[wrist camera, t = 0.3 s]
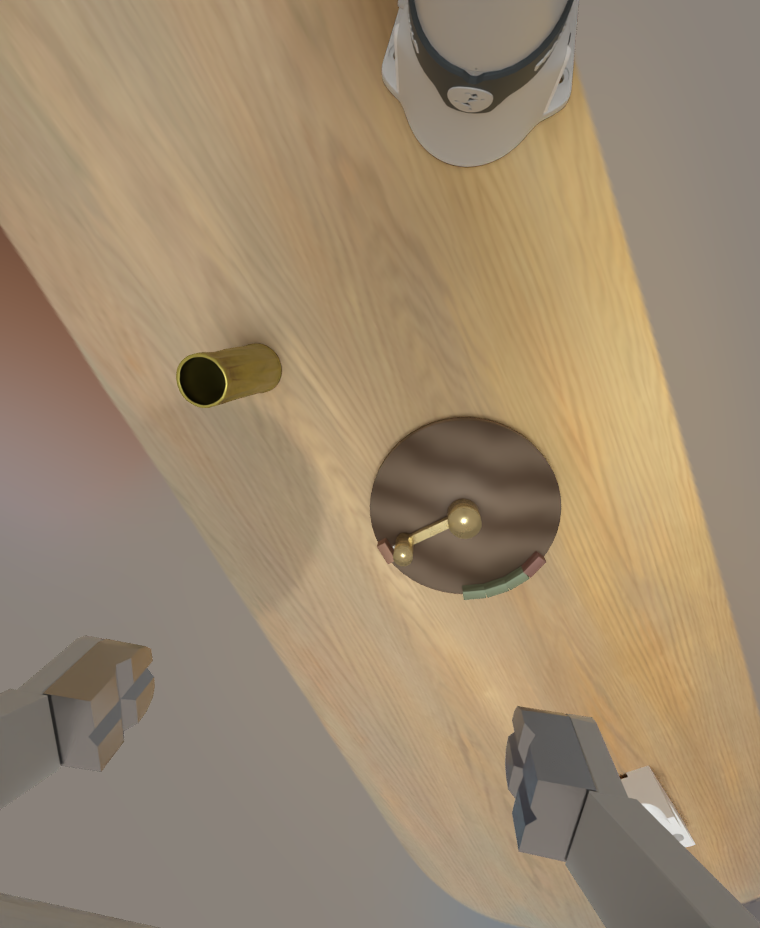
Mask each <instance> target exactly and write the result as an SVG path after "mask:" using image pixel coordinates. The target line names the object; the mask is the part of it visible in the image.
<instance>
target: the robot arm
mask: <svg viewBox="0 0 760 928" xmlns="http://www.w3.org/2000/svg"><path fill="white" fill-rule="evenodd" d="M398 7H399V10H398V14H397V17H396V20H395V24H394V27H393V30H392V34H391V37H390V40H389V44H388V47H387V50H386V54H385V57H384V60H383V64H382V79H383V82H384V84H385V85H386V87H387V88H388V89H389V91H390V92H391V93H392V94H393V95H394V96H395V97H396V98H397V99H398V100H399V101H400V103H401V105H402V107H403V109H404V112H405V114H406V117H407V120H408V123H409V125H410V127H411V130H412V131H413V133H414V135H415V137H416V138H417V140H418V141H419V142H420V144H421V145H422V146H423V147H424V148H425V149H426V150H427V151H428V152H429V153H430V154H432V155H433V156H434V157H436V158H438V159H439V160H441V161H443V162H446V163H448V164H452V165H456V166H463V167H472V166H479V165H484V164H487V163H490V162H493V161H495V160H497V159H499V158H501V157H503V156H504V155H506V154H507V153H509V152H510V151H511V150H513V149H514V148H515V147H516V146H517V145H518V144H519V143H520V142H521V141H522V140H523V139H524V138H525V137H526V135H527V134H528V133H529V132H530V131H531V130H532V129H533V128H534V127H535V126H536V125H537V124H538V123H539V122H540V121H542V120H544V119H546V118H548V117H550V116H552V115H554V114H555V113H557V112H558V111H560V110H561V109H562V108H563V107H564V106H565V105H566V104H567V102H568V99H569V97H570V94H571V88H572V76H573V65H574V53H575V42H576V30H577V17H578V7H579V0H398ZM394 57H395V60H394ZM561 78H562V83H559V82H560V79H561ZM152 661H153V660H152V653H151V649H150V648H148V647H146V646H141V645H136V644H131V643H126V642H120V641H115V640H110V639H102V638H97V637H92V636H87V635H86V636H83V637H80V638H77V639H76V640H75V641H74V642H73V643H71V644H70V645H69V646H68V647H67V648H65V650H64V651H62V652H61V653H60V654H58V655H57V656H56V657H55V658H54V659H53V660H52V661H50V662H49V663H48V664H47V665H46V666H44V667H43V668H42V669H41V670H40V671H39V672H37V673H36V674H35V675H34V676H33V677H32V678H30V679H29V680H28V681H27V682H26V683H24V684H23V685H22V686H21V687H20V688H19V689H17V690H14V689H9V690H6V691H4V692H2V693H0V810H1V809H2V808H3V807H5V806H7V805H8V804H9V803H11V802H12V801H14V800H15V799H17V798H18V797H20V796H21V795H23V794H24V793H26V792H27V791H28V790H30V789H31V788H33V787H34V786H36V785H37V784H39V783H40V782H42V781H43V780H45V779H46V778H48V777H49V776H50V775H52V774H53V773H55V772H56V771H58V770H59V769H60V768H61V766H66V767H73V768H79V769H85V770H92V771H99V772H101V771H102V770H103V769H104V767H105V766H106V765H107V763H108V762H109V761H110V760H111V758H112V757H113V756H114V754H115V753H116V751H117V750H118V749H119V748H120V746H121V745H122V744H123V742H124V731H125V730H127V729H129V728H130V727H132V726H134V725H136V724H137V723H138V722H139V721H140V720H141V718H142V717H143V716H144V714H145V713H146V712H147V709H148V707H149V705H150V703H151V700H152V698H153V694H154V687H155V682H154V676H153V675H152V674H151V672H150V671H149V670H148V668H147V667H148V666H149V665H150V663H151V662H152ZM512 722H513V727H514V733H513V734H511V735H510V736H509V737H508V741H507V746H506V759H505V767H506V778H507V785H508V790H509V791H510V792H511V794H512V795H513V796H514V798H515V803H514V807H513V811H512V815H513V821H514V827H515V833H516V838H517V844H518V850H519V852H523V853H528V854H532V855H537V856H541V857H546V858H550V859H555V860H559V861H564V862H566V864H565V865H566V866H567V868H568V870H569V871H570V873H571V874H572V876H573V877H574V879H575V880H576V882H577V884H578V885H579V887H580V888H581V890H582V891H583V893H584V894H585V896H586V897H587V899H588V901H589V902H590V904H591V905H592V907H593V908H594V910H595V911H596V913H597V915H598V916H599V918H600V919H601V921H602V922H603V924H604V925H605V927H606V928H760V922H759V921H758V920H757V919H756V918H755V917H754V916H753V915H752V914H751V913H750V912H749V911H748V910H747V909H746V908H745V907H744V906H743V905H742V904H741V903H740V902H739V901H738V900H737V899H736V898H735V897H734V896H733V895H732V894H731V893H730V892H729V891H728V890H727V889H726V888H725V887H724V886H723V885H722V884H721V883H720V882H719V881H718V880H717V879H716V878H715V877H714V876H713V875H712V874H711V873H710V872H709V871H708V870H707V869H706V868H705V867H704V866H703V865H702V864H701V863H700V862H699V861H698V860H697V859H696V858H695V857H694V856H693V855H692V854H691V853H690V852H689V851H688V850H687V849H686V848H685V847H684V846H683V845H682V844H681V843H680V842H679V841H678V840H677V839H676V838H675V837H674V836H673V835H672V834H671V833H670V832H669V831H668V830H667V829H666V828H665V827H664V826H663V825H662V824H661V823H660V822H659V821H658V820H657V819H656V818H655V817H654V816H653V815H652V814H651V813H650V812H649V811H648V810H647V809H646V808H645V807H644V806H643V805H642V804H641V803H640V802H639V801H638V800H637V799H633V798H628V796H627V793H626V791H625V789H624V786H623V784H622V782H621V779H620V777H619V775H618V772H617V770H616V768H615V765H614V763H613V761H612V758H611V756H610V754H609V751H608V749H607V747H606V744H605V742H604V740H603V737H602V735H601V733H600V730H599V728H598V726H597V723H596V722H595V720H594V719H593V718H592V717H586V716H579V715H573V714H564V713H559V712H552V711H546V710H539V709H533V708H526V707H519V706H517V708H516V709H515V711H514V715H513V719H512ZM0 928H159V927H154V926H150V925H146V924H141V923H136V922H132V921H127V920H123V919H118V918H114V917H109V916H105V915H100V914H96V913H91V912H86V911H82V910H77V909H73V908H68V907H64V906H59V905H55V904H50V903H46V902H41V901H36V900H32V899H27V898H23V897H18V896H13V895H9V894H5V893H0Z"/></svg>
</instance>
